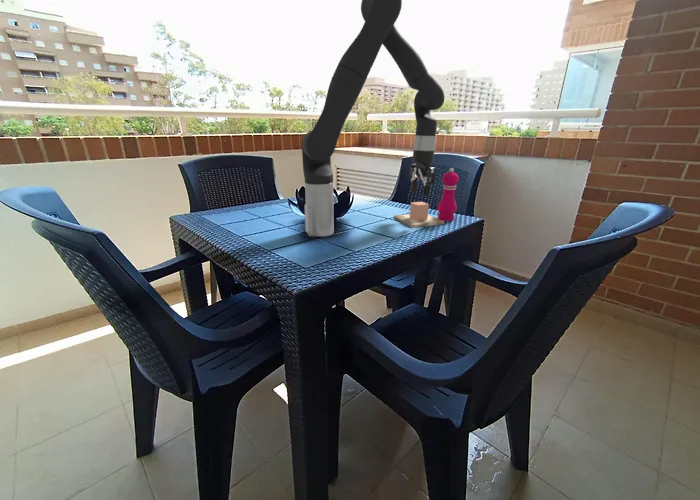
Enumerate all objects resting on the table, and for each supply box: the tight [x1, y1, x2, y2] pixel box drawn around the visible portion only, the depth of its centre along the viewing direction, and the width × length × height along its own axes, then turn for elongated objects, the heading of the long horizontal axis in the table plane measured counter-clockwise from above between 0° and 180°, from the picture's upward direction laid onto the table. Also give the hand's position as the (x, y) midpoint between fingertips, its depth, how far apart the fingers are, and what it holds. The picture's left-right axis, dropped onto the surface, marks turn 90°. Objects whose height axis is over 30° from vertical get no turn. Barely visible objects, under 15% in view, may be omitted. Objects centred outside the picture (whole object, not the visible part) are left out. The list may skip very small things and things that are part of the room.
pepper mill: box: [437, 167, 459, 222], centre depth 124 cm, size 7×7×20 cm
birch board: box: [393, 213, 445, 228], centre depth 124 cm, size 14×14×1 cm
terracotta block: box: [409, 201, 430, 221], centre depth 123 cm, size 5×5×6 cm
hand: (419, 193), depth 121 cm, fingers open, 8 cm apart
